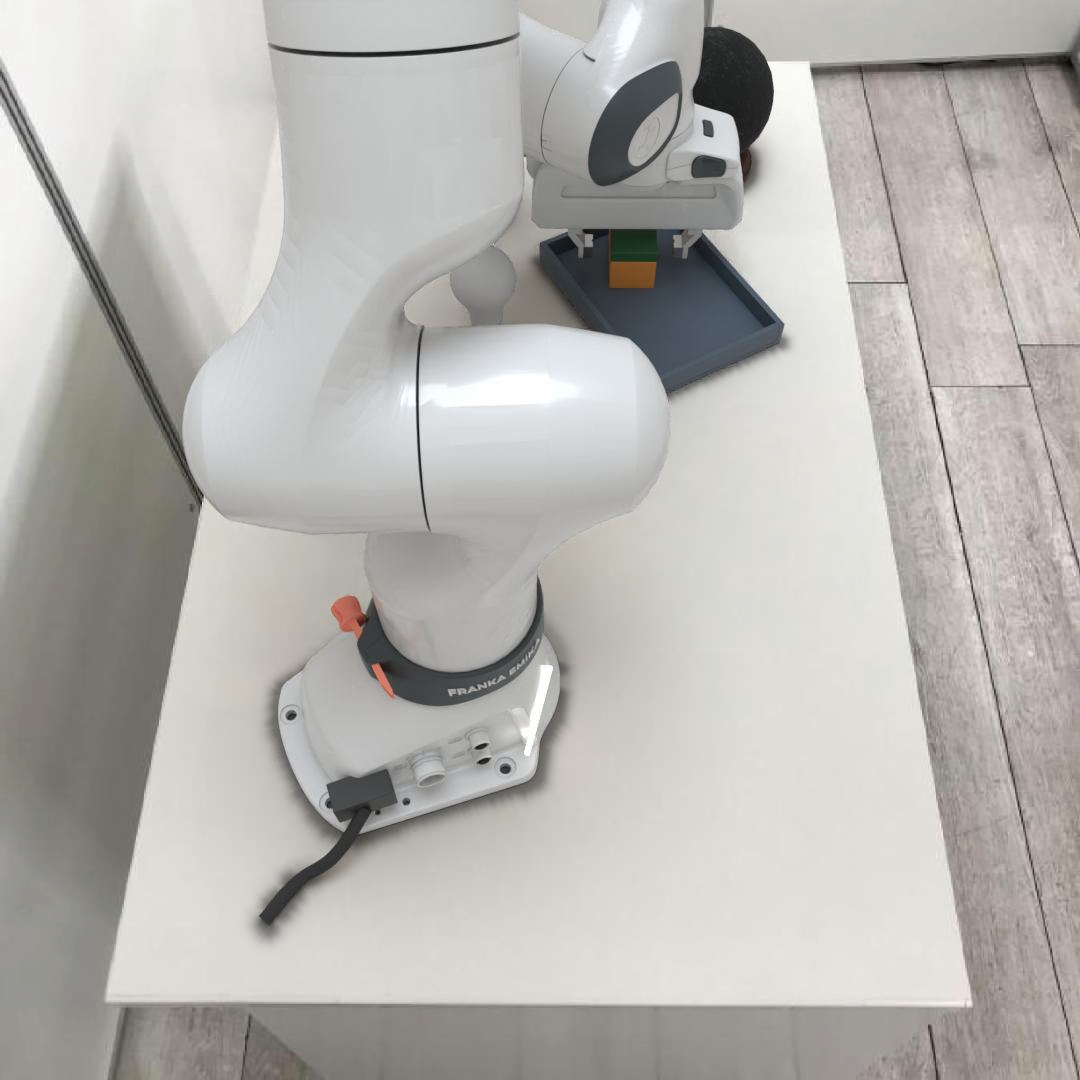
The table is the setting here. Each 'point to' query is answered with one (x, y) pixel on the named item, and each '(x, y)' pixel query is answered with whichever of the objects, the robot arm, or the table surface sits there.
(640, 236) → the sponge
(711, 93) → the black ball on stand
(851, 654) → the table surface
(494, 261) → the lightbulb
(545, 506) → the robot arm
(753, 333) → the tray
